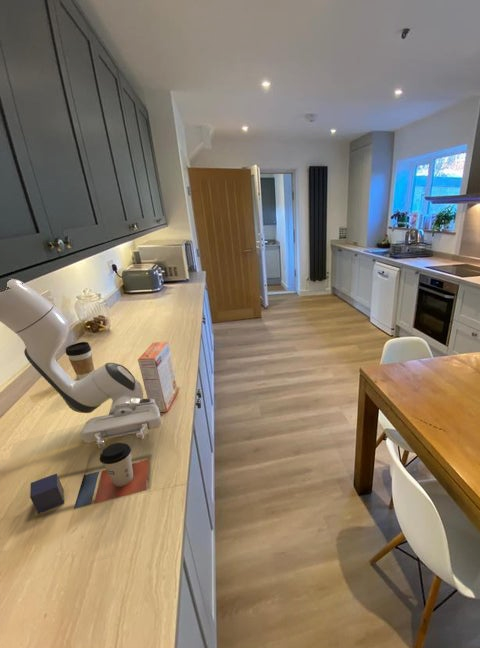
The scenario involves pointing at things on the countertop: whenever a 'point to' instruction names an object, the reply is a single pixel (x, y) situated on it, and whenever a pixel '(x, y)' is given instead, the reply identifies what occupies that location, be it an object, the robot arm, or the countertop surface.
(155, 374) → the cracker box
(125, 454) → the coffee cup
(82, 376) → the coffee cup
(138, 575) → the countertop surface
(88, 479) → the sorting board
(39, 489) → the navy block
